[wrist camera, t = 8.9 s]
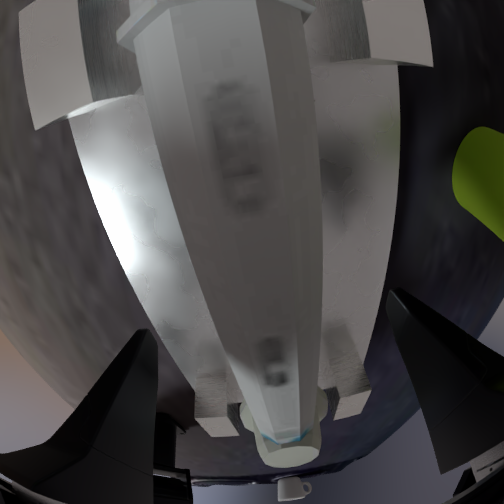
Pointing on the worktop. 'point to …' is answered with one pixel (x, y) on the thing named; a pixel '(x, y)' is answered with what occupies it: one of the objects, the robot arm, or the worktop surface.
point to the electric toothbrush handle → (245, 193)
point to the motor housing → (158, 196)
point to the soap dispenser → (481, 177)
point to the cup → (292, 488)
